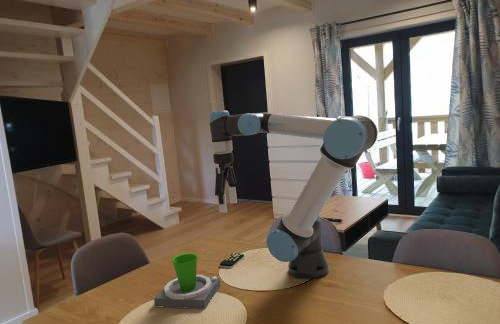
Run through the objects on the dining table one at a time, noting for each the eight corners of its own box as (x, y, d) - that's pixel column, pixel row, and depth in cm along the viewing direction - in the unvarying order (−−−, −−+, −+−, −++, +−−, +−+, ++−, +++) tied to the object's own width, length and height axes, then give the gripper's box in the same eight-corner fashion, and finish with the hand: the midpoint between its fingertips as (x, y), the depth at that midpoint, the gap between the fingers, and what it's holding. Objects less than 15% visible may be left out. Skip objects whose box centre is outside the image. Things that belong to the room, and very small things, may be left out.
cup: (206, 285, 129) (203, 255, 127) (186, 296, 122) (182, 265, 121) (190, 279, 135) (187, 251, 133) (170, 290, 128) (166, 259, 127)
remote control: (218, 268, 152) (218, 263, 151) (233, 256, 163) (232, 252, 163) (231, 269, 149) (231, 264, 149) (245, 257, 160) (245, 253, 160)
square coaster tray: (220, 285, 134) (219, 274, 134) (205, 308, 119) (203, 296, 118) (175, 284, 139) (174, 274, 138) (155, 306, 123) (153, 295, 123)
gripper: (223, 149, 150) (228, 200, 153) (201, 157, 126) (208, 217, 129) (241, 148, 148) (246, 199, 151) (222, 156, 124) (228, 216, 127)
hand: (228, 207), depth 140 cm, fingers open, 13 cm apart
